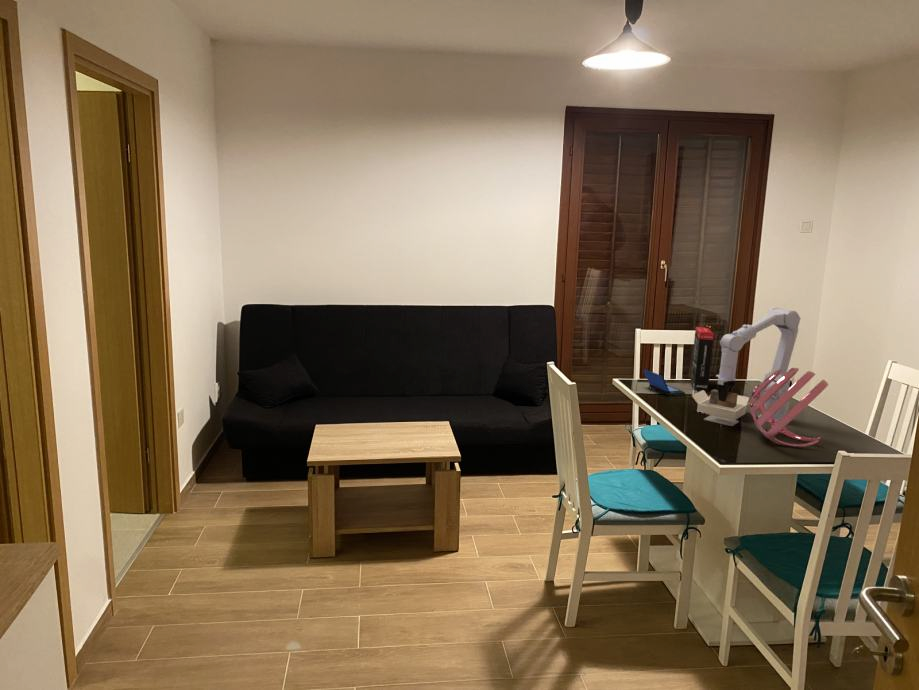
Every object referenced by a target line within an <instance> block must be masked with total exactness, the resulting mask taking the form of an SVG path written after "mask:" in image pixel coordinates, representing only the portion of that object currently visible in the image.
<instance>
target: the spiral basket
mask: <svg viewBox="0 0 919 690" xmlns="http://www.w3.org/2000/svg"><path fill="white" fill-rule="evenodd" d="M799 371H800V368H798V367H792V368H790V369H788V370H787V372H786V373H785V374H784V375H783V376H782V377H781V378H780V379H779V380H776V381H777V382H776V383H774V384H773V385H772V386H771V387H770V388H769V389H768V390H767V391H766V392H765V393H764V394H763V392H762V391H763V390H764V389H765V388H766V387H767V386H768V385H769V384H770V383H771V382H772V381H773V380H774V379H775V378H776V377H777V376H778V375H779V374H780V373H781V372H782V369H779V370H776V371H775V372H774V373H772V374H771V375H770V376H769V377H768V378H767V379H766V380H765V381H764V382H763V383H762V382H761V383H762V384H761V383H760V384H757V386H756V385H755V387H754V388H753V391H751V392H752V393H751V395H750V402H749V403H750V404H749V411H750V414H751V415H750V416H751V417H752V420H753V422H754V426H755V427H756V428H757V429H758V430H759V431H760V432H761V433H762V434H763V435H764V437H765V438H766V439H768V440H770V441H772V442H774V443H776V444H779V445H782V446H785V447H790V448H791V447H792V448H804V447H808V446H812V445H813V446H814V445H815V444H817V443H819V441H820V440H821V437H805V436H800V435H798V434H796V433H794V432H791V430H788V429H787V428H786V426H787V425H788V424H789V423H791V422H792V421H793V420H794V419H795V418H796V417H797V416H798V415H799V414H800V413H802V411H804V409H806V408H807V407H808V406H809V405H810V404H811V403H812V402H813V401H814V400H815V399H816V398H817V397H818V396H819V395H820V394H821V393H822V392H823V391H824V390H825V389H826V388H827V387H828V386H829V383H828V381H826V380H825V379H822V380H820V381H819V382H818V383H817V384H816V385H815V386H814V387H813V388H811V390H810V391H809V392H808V393H806V394H805V395H804V396H803V397H802V398H801V399H800V400H799V401H798V402H797V403H796V404H795V405H794V406H793V407H792V408H791V409H789V410H788V413H787V414H785V415H784V416H783V417H782V418H781V419H780V420H779V421H776V420H774V419H773V415H774V414H775V413H776V412H777V411H778V410H779V409H780V408H781V407H782V406H783V405H784V404H785V403H786V402H787V401H788V400H789V401H790V400H792V399H791V398H793V397H794V396H795V395H796V394H797V393H798V392H799V391H800V390H801V389H802V388H803V387H804V386H806V384H808V382H810V380H812V379H813V378H814V376H816V373H815V372H814V371H810V370H808V371H806V372H805V373H804V374H803V375H802V376H801V377H800V378H799V379H798V380H797V381H795V382H794V384H792V385H791V386H789V389H788V390H787V391H786V392H785V393H784V394H783V395H782V396H781V397H780V398H779V399H778V400H777V401H776V402H775V403H774V404H773V405H771V406H770V407H769V408H768V409H767V410H766V409H765V407H764V404H765V403H766V402H767V401H768V400H769V399H770V398H771V397H772V396H773V395H774V394H775V393H776V392H777V391H778V390H780V389H781V388H782V387H783V386H784V385H785V384H786V383H787V382H788V381H789V380H791V379H792V378H793V376H795V375H796V374H797V373H798V372H799ZM761 393H762V395H761ZM755 398H756V399H755ZM753 400H756V401H753ZM757 411H760V415H761V413H762V415H761V416H760V417H759V418H758V417H757V416H756V412H757ZM766 423H768V424H769V425H770V426H771V427H770V429H769V430H768V431H767V430H765V429H764V428H763V425H764V424H766ZM779 433H781V434H783V435H785V436H787V437H788V438H791V439H795V440H797V441H801V442H802V441H803V442H805V443H799V444H795V443H788V442H785V441H782V440H779V439H777V438H776V436H777V435H778V434H779ZM806 442H807V443H806Z"/></svg>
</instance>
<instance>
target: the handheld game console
mask: <svg viewBox="0 0 919 690" xmlns="http://www.w3.org/2000/svg"><path fill="white" fill-rule="evenodd" d="M643 373H644V376H645V377H646V379H647V382H648V383H649V384H648V387H649V388H650V387H651V388H650V389H652V388H653V390H654V389H655V391H657V390H658V391H657V392H660V391H661V392H662V393H661V392H660V393H661V394H663V393H664V394H663V395H665V394H666V396H667V395H668V397H669V396H672V395H675V396H684V395H686V392H685V391H683V390H680V389H678V388H676V387H674V386H671V385H668V384H667V383H666V380H665V378H664V377H663V375H660V374H658V373H656V372H653V371H650V370H647V369H646V368H645V369H643Z"/></svg>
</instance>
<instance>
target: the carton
mask: <svg viewBox="0 0 919 690" xmlns="http://www.w3.org/2000/svg"><path fill="white" fill-rule="evenodd" d="M691 397H692V398H693V400H694V401H695V402H696V403H697V405H696V406H697V409H696V412H697V413H699V412H701V414H704V413H705V415H708V416H710V415H713V416H718V417H722V418H727V419H731V420H736V421H737V420H738V419H739V418H741V417H742V416H744V415H746V411H747V406H750V402H749V400H750V396H749V397H748V396H744V395H739V394H738V396H737V404H736V407H734V408H729V407H725V406H720V405H715V404H710V403H709V402H710V395H708V394H707V393H706V391H704V390H699V391H698V392H696V393H694V394H692V395H691ZM755 400H756V399H754V400H753V402H756V401H755Z"/></svg>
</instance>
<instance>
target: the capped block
mask: <svg viewBox="0 0 919 690" xmlns="http://www.w3.org/2000/svg"><path fill="white" fill-rule="evenodd" d="M738 395H739V394H738V393H735V392H728V394H727V397H726V400H725V402H724V401H719V396H718V389H717V388H716V389H714V388H713V389H712V390H710V394H709V396H710V402H709V403H710V404H715V405H720V406H725V407H729V408H734V407H736V404H737V396H738Z"/></svg>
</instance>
